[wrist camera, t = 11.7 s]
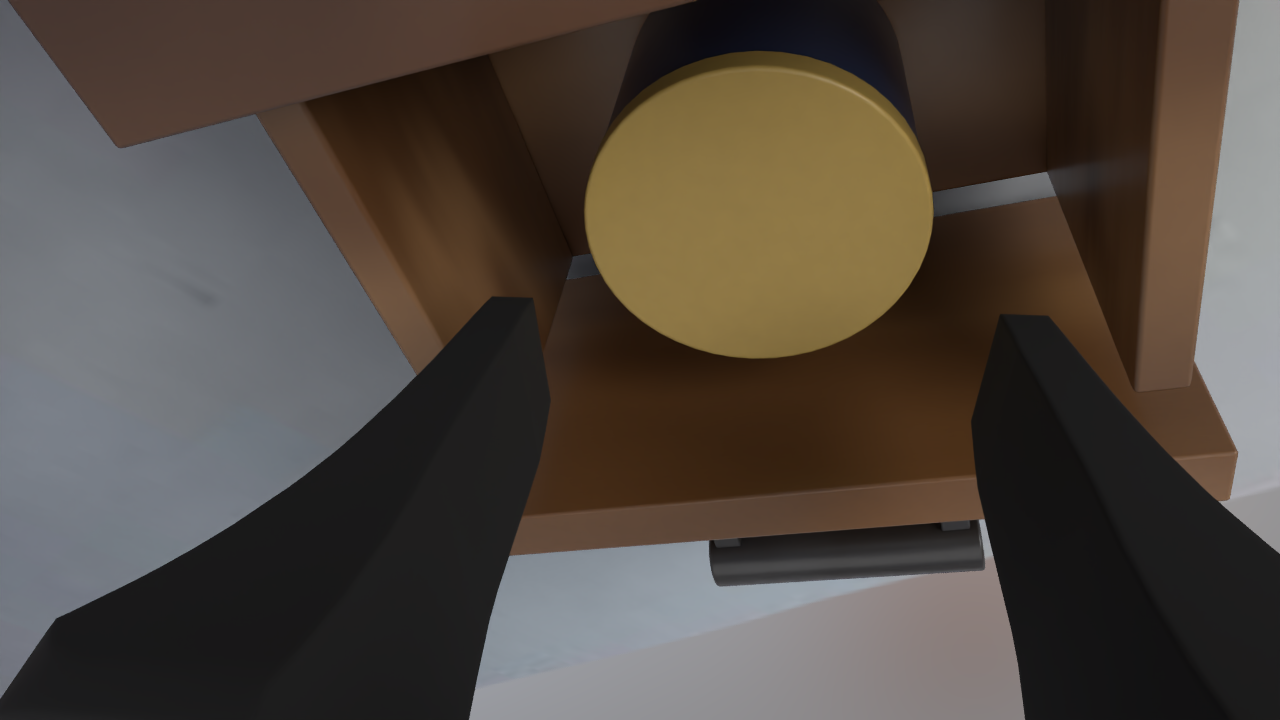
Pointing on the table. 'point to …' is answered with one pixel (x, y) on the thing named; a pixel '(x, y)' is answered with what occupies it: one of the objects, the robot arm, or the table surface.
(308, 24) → the cabinet
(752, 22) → the tin
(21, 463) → the table surface
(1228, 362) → the table surface
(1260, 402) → the table surface
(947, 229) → the drawer
